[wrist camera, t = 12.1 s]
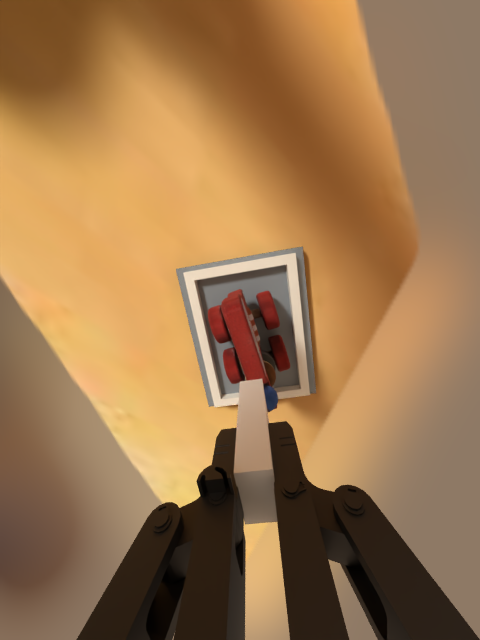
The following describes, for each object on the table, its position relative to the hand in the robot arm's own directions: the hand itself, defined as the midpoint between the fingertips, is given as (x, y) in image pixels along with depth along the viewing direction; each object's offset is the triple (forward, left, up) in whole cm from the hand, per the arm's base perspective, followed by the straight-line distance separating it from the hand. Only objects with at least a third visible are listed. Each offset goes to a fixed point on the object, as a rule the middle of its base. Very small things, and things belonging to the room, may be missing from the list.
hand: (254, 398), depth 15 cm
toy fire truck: (0, 0, -12) cm, 12 cm away
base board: (0, 0, -13) cm, 13 cm away
